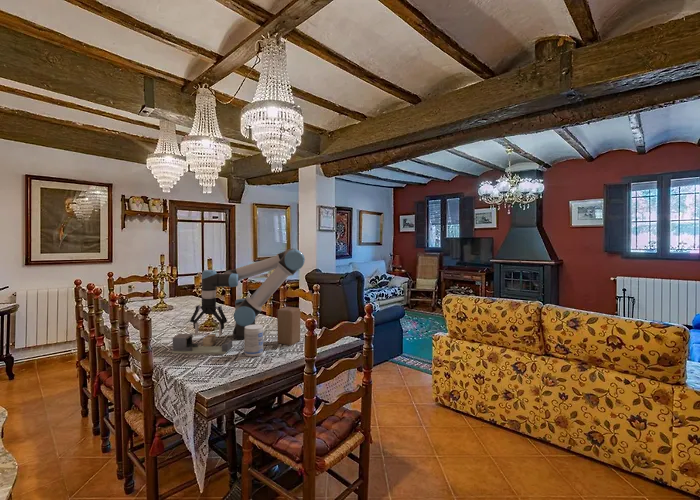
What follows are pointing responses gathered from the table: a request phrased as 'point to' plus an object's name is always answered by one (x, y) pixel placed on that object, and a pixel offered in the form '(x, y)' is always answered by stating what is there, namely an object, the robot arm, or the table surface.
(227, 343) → the cap
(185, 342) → the cap
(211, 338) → the brown block
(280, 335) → the wooden block
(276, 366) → the table surface
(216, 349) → the board
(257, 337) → the supplement tub
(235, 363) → the table surface
